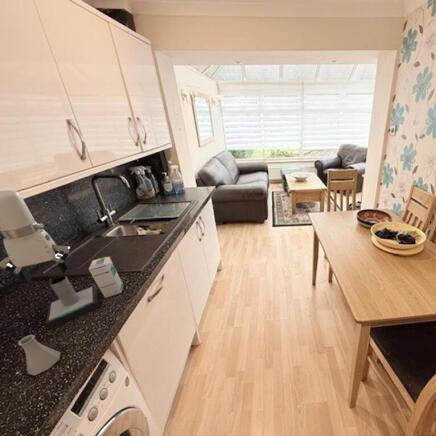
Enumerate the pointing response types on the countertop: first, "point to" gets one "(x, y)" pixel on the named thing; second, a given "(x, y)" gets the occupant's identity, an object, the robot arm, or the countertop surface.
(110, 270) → the syrup box
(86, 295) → the scale
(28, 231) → the robot arm
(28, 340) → the flask
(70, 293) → the planter
